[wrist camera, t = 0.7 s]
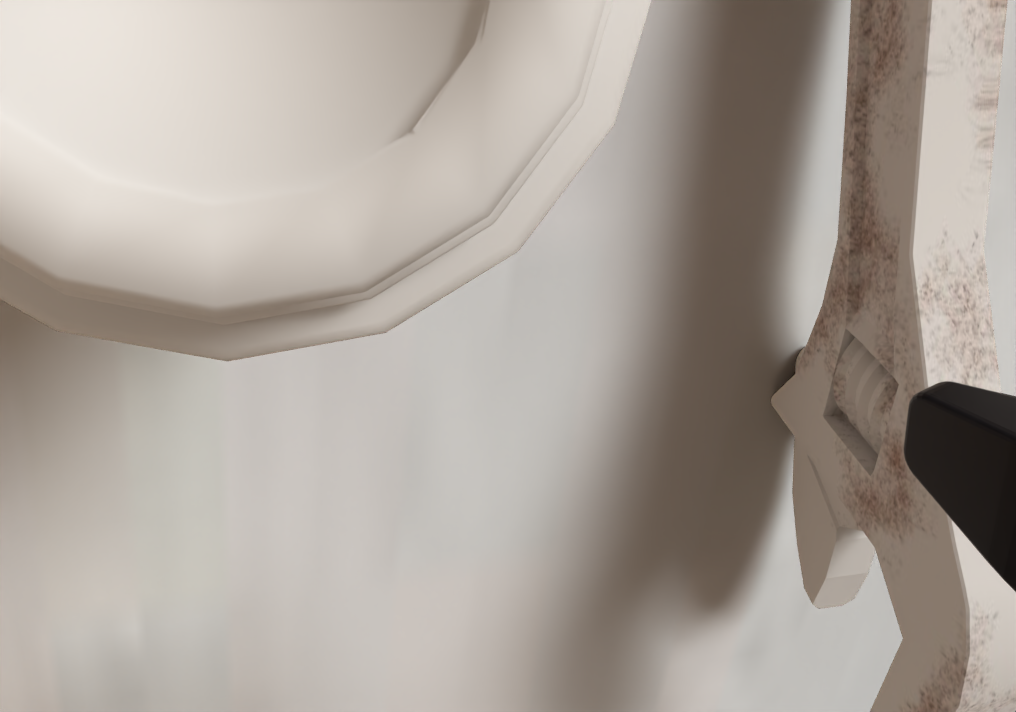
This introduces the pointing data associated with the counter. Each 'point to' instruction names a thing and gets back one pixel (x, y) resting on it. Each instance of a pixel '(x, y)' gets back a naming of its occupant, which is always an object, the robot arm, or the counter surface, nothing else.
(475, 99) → the coffee cup
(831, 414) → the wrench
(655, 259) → the counter surface
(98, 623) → the counter surface
